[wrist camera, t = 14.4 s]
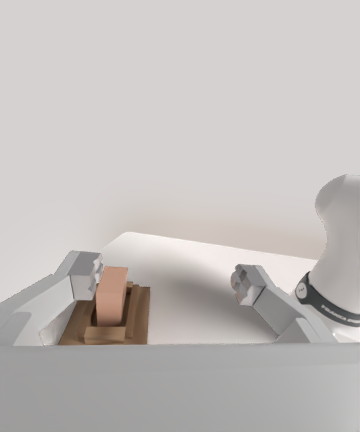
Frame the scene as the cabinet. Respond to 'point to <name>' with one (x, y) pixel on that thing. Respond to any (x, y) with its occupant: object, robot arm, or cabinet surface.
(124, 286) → the peach rectangular block
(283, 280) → the cabinet surface
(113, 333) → the wooden tray with base
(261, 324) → the cabinet surface
